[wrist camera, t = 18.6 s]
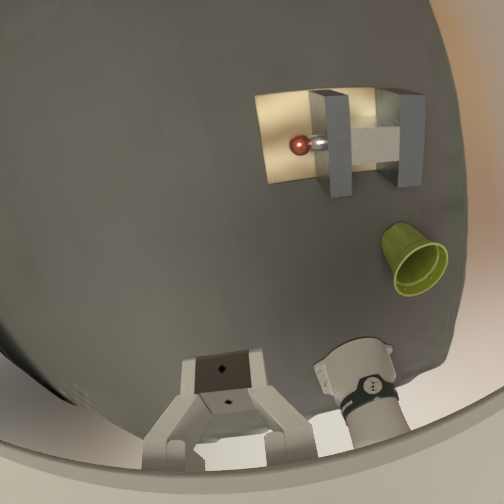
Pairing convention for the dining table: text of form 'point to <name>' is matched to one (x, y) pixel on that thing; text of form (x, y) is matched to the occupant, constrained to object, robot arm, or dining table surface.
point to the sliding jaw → (328, 141)
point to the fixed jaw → (403, 134)
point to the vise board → (300, 129)
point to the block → (374, 140)
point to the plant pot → (413, 259)
